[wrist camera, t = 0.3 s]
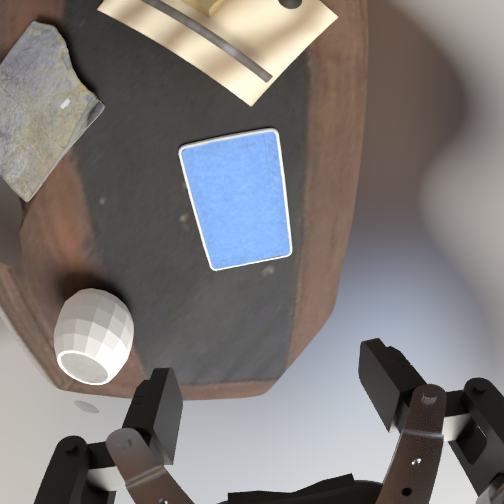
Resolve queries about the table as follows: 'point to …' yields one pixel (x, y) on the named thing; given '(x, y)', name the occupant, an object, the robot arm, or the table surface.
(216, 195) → the tablet computer
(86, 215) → the table surface
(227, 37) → the cream panel
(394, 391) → the robot arm
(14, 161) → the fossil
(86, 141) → the table surface
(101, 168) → the table surface
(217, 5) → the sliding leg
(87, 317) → the white faceted vase
